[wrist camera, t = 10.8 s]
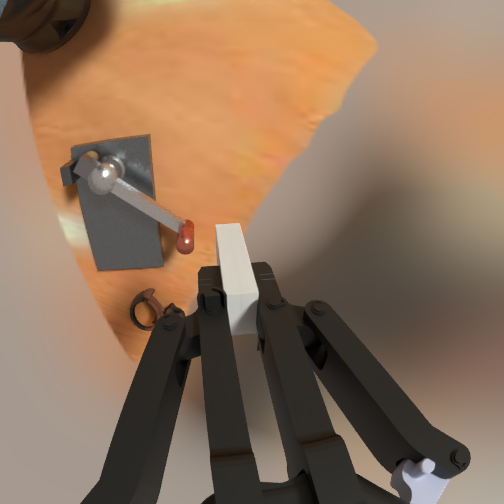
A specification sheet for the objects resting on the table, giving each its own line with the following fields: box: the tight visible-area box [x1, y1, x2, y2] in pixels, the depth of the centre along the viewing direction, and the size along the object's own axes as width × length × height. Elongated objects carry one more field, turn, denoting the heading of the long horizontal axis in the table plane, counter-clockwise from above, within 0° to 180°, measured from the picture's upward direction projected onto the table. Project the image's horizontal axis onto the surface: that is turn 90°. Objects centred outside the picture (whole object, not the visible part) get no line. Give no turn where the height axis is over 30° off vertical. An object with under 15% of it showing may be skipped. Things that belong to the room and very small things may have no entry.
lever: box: [73, 153, 194, 254], centre depth 41 cm, size 22×4×9 cm, turn 49°
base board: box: [60, 134, 165, 270], centre depth 46 cm, size 25×14×7 cm, turn 178°
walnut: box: [86, 151, 99, 161], centre depth 40 cm, size 3×3×3 cm
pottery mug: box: [130, 289, 185, 331], centre depth 60 cm, size 12×10×8 cm
